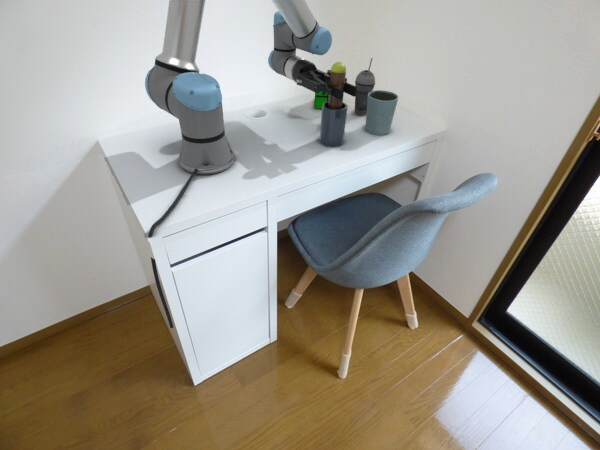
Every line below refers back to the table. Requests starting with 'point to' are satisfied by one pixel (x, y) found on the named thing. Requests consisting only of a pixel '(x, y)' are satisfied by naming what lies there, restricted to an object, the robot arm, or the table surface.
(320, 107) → the puzzle cube
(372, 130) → the grey-green cup
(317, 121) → the table surface
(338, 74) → the peg
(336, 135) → the tube
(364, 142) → the table surface
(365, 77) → the tumbler with straw
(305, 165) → the table surface
